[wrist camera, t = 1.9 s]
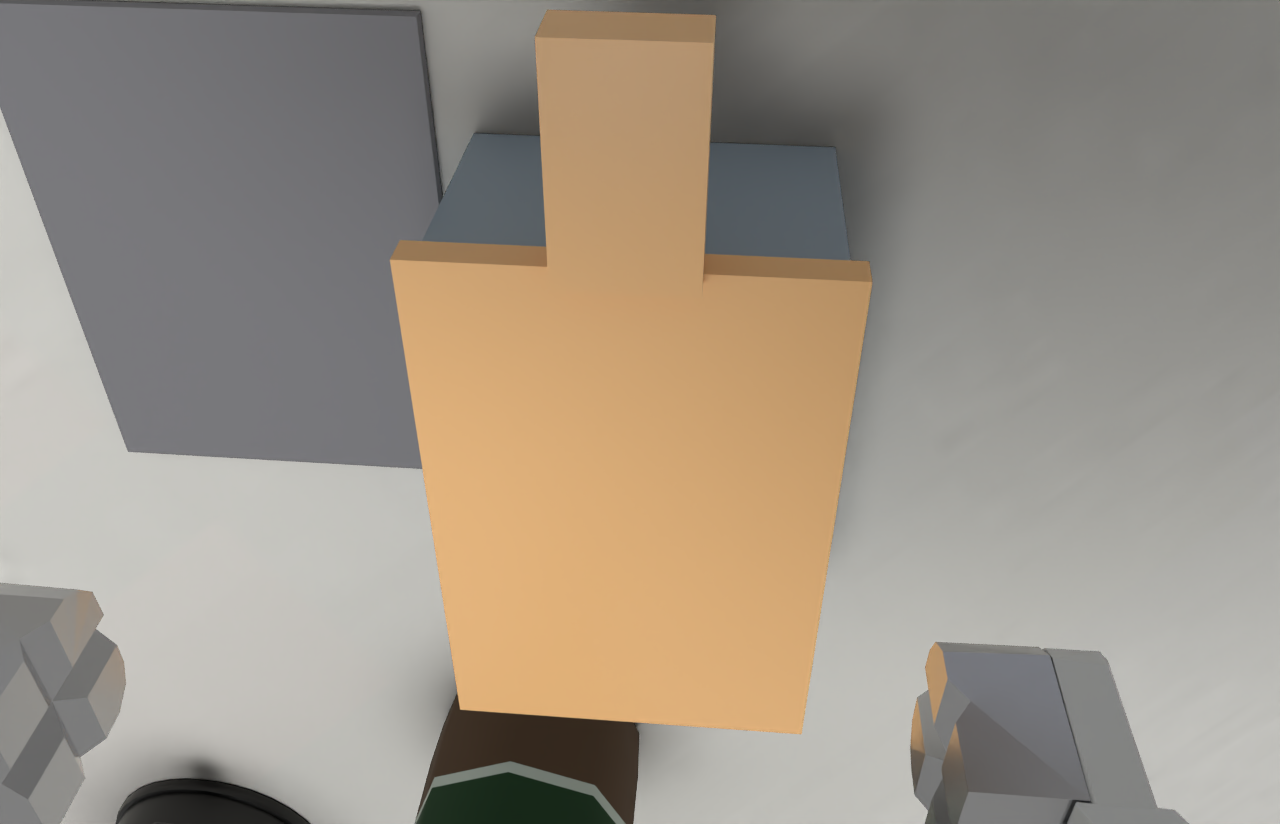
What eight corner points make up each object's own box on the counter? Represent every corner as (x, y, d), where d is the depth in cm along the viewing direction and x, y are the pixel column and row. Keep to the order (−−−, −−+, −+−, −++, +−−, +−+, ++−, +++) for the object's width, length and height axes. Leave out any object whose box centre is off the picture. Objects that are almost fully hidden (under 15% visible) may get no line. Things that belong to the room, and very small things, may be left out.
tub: (835, 147, 27) (852, 273, 22) (786, 550, 36) (790, 703, 31) (473, 132, 28) (416, 253, 23) (511, 533, 36) (475, 680, 32)
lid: (903, 13, 19) (914, 50, 18) (800, 698, 31) (802, 752, 30) (371, -4, 20) (341, 30, 19) (468, 675, 32) (455, 727, 31)
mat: (420, 11, 26) (416, 17, 25) (473, 463, 34) (470, 471, 34) (-30, -4, 26) (-39, 2, 26) (133, 443, 35) (128, 451, 35)
